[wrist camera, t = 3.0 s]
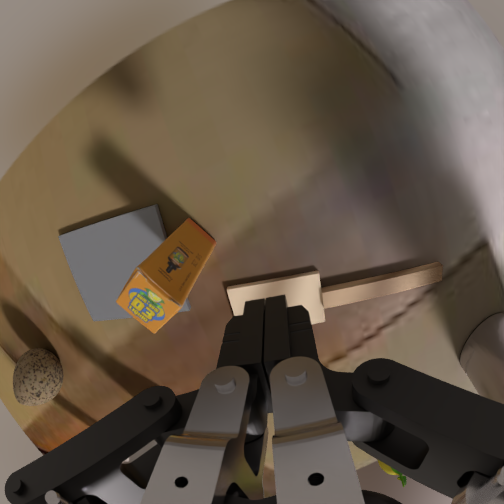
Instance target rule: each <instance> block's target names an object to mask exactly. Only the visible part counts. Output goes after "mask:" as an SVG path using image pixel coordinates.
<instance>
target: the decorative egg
mask: <svg viewBox="0 0 504 504" xmlns="http://www.w3.org/2000/svg"><path fill="white" fill-rule="evenodd" d="M62 383H63V369H62V366H61V363H60V361H59V360H58V358H57V357H56V356H55V355H54V354H53V353H51V352H50V351H48V350H46V349H41V348H36V349H32V350H29V351H27V352H26V353H24V354H23V355H22V356H21V357H20V359H19V360H18V362H17V364H16V367H15V370H14V375H13V389H14V394H15V397H16V399H17V401H18V402H19V403H21V404H23V405H28V406H34V405H40V404H43V403H46V402H48V401H50V400H51V399H53V398H54V397H55V396H56V395H57V394H58V392H59V390H60V389H61V386H62Z"/></svg>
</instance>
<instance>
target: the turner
mask: <svg viewBox="0 0 504 504" xmlns="http://www.w3.org/2000/svg"><path fill="white" fill-rule="evenodd" d="M442 270H443V265H441V264H440V263H439V262H434V263H430V264H426V265H422V266H418V267H414V268H410V269H406V270H401V271H397V272H393V273H388V274H384V275H379V276H375V277H370V278H366V279H361V280H356V281H351V282H347V283H342V284H337V285H332V286H327V287H322V288H321V284H320V276H319V272H318V271H312V272H307V273H302V274H296V275H291V276H286V277H280V278H275V279H269V280H263V281H258V282H252V283H246V284H240V285H234V286H228V287H227V293H228V296H229V300H230V303H231V306H232V310H233V313H234V316H238V315H243V311H244V305H245V301H250V300H256V299H262V298H265V300H266V298H267V297H273V296H278V295H284V294H285V296H286V300H287V305H288V307H292V306H297V305H302V306H303V307H304V308H306V309H307V310H308V311H309V315H310V320H311V324H316V323H321V322H325V315H324V309H325V308H330V307H335V306H340V305H345V304H349V303H354V302H359V301H363V300H368V299H372V298H377V297H381V296H385V295H389V294H393V293H397V292H401V291H405V290H409V289H413V288H417V287H421V286H425V285H428V284H432V283H436V282H439V281H442Z"/></svg>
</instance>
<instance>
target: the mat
mask: <svg viewBox="0 0 504 504" xmlns="http://www.w3.org/2000/svg"><path fill="white" fill-rule="evenodd" d="M58 237H59V240H60V243H61V245H62V248H63V251H64V254H65V257H66V259H67V262H68V264H69V267H70V270H71V272H72V275H73V277H74V279H75V282H76V284H77V287H78V289H79V291H80V294H81V296H82V298H83V300H84V302H85V305H86V307H87V309H88V311H89V313H90V315H91V317H92V319H93V321H102V320H113V319H123V318H132V317H133V316H131V315H130V314H129V313H128V312H127V311H126V310H124V309H123V308H122V307H121V306H120V305H118V304H117V303H116V300H117V299H118V297H119V295H120V293H121V291H122V290H123V288H124V286H125V284H126V283H127V281H128V279H129V278H130V276H131V275H132V273H133V271H134V270H135V268H136V267H137V266H138V265H139V264H141V263H142V262H143V261H144V260H145V259H146V258H147V257H148V256H149V255H150V254H151V253H152V252H153V251H154V250H156V249H157V248H158V247H159V246H160V245H161V244H162V243H163V242H164V241H165V240H166V239H167V235H166V231H165V228H164V225H163V222H162V218H161V215H160V211H159V208H158V204H156V205H152V206H149V207H145V208H142V209H139V210H135V211H132V212H129V213H125V214H122V215H119V216H116V217H112V218H109V219H106V220H103V221H100V222H97V223H94V224H91V225H88V226H85V227H82V228H79V229H76V230H73V231H70V232H68V233H65V234H62V235H60V236H58ZM190 308H191V306H190V303H189V301H188V298H186V300H185V302H184V305H183V307H182V308H181V309H180V310H179V311H178V312H183V311H189V310H190Z"/></svg>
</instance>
